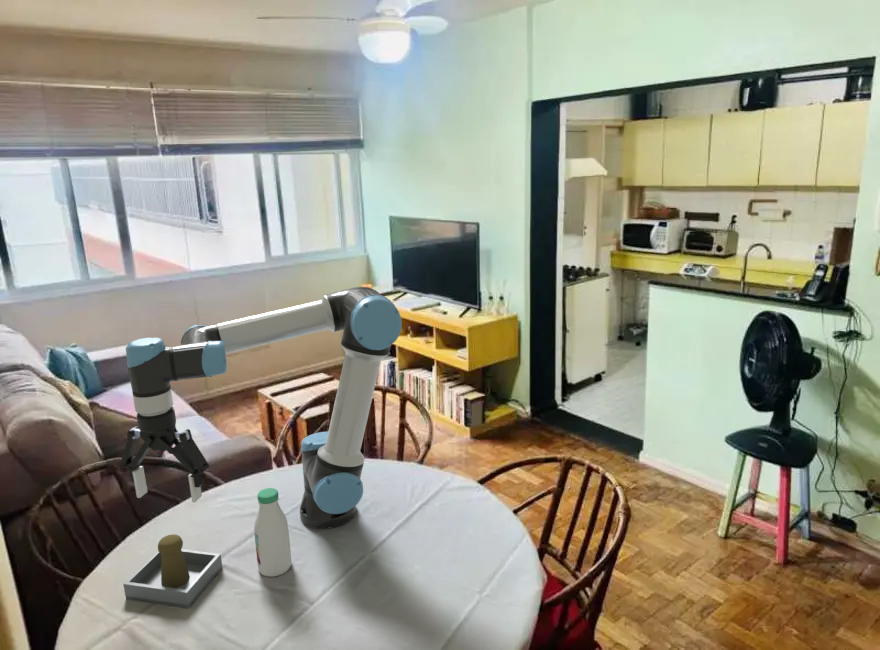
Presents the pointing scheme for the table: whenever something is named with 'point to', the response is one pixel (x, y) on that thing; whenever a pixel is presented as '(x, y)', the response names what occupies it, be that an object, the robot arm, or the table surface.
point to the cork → (172, 562)
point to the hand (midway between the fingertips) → (169, 497)
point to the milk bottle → (271, 535)
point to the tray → (150, 589)
